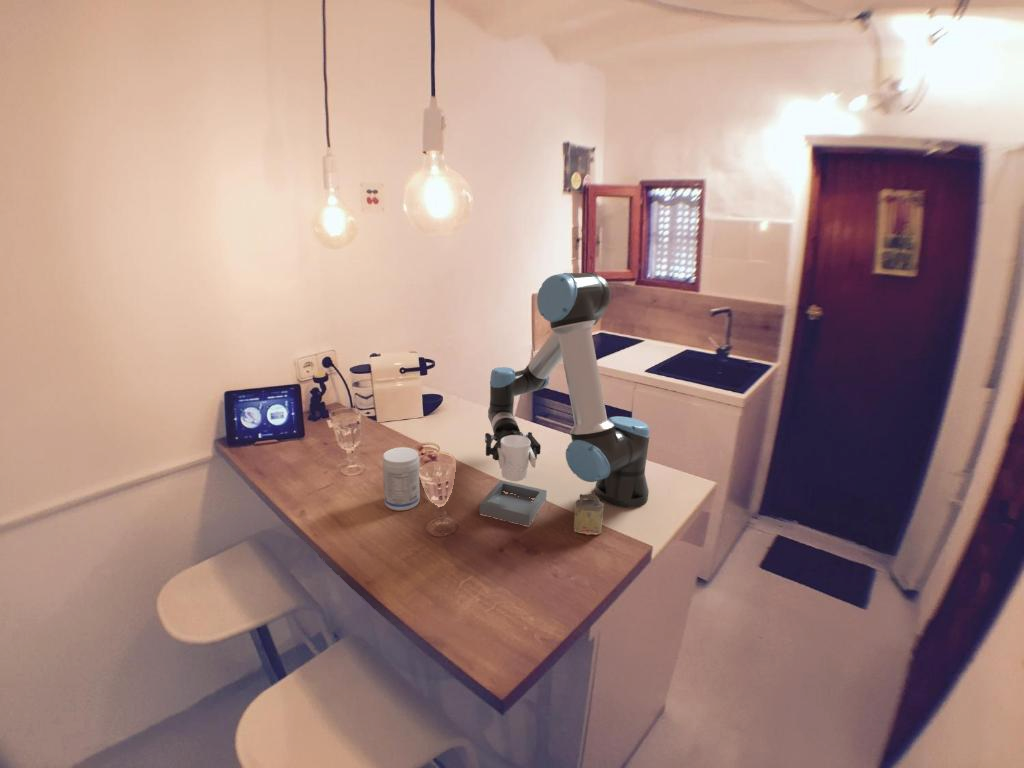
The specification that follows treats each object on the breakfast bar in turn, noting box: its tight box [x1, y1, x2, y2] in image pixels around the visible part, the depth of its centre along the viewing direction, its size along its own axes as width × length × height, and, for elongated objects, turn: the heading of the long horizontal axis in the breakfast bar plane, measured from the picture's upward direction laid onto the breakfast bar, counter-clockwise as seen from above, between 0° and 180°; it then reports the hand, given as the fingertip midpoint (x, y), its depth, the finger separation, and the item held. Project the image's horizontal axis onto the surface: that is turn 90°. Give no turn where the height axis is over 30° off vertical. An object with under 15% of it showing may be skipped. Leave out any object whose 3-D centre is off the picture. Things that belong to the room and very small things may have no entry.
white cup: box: [501, 435, 531, 482], centre depth 131 cm, size 8×8×10 cm
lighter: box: [573, 493, 604, 533], centre depth 124 cm, size 7×4×10 cm, turn 85°
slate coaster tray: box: [479, 479, 548, 526], centre depth 135 cm, size 14×14×4 cm
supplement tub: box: [382, 447, 421, 512], centre depth 134 cm, size 10×10×15 cm
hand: (518, 463), depth 126 cm, fingers closed on white cup, 8 cm apart
